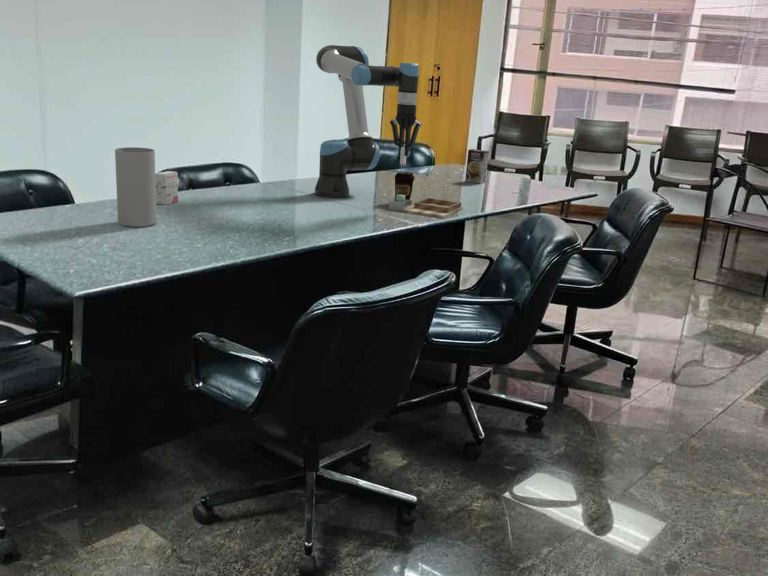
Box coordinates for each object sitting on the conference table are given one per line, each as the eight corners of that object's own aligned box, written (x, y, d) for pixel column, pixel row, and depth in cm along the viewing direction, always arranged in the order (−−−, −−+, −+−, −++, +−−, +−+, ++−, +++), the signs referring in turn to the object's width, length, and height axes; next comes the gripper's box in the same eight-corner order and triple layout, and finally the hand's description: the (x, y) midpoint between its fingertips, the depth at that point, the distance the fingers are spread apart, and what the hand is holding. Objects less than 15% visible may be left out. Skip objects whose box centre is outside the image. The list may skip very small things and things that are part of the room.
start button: (394, 204, 312) (395, 195, 311) (398, 202, 316) (398, 194, 314) (402, 205, 311) (403, 196, 310) (406, 203, 314) (406, 195, 313)
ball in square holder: (388, 209, 312) (389, 200, 311) (395, 206, 318) (396, 198, 317) (404, 211, 309) (404, 202, 308) (411, 208, 316) (411, 200, 314)
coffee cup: (410, 206, 321) (412, 175, 317) (391, 204, 322) (393, 173, 319) (414, 202, 329) (416, 172, 325) (395, 200, 331) (397, 170, 327)
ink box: (168, 200, 303) (167, 170, 299) (178, 201, 301) (178, 171, 298) (154, 203, 295) (153, 173, 291) (165, 205, 293) (164, 174, 290)
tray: (401, 211, 308) (402, 204, 307) (422, 203, 328) (423, 196, 327) (443, 218, 301) (444, 210, 300) (462, 209, 321) (463, 202, 320)
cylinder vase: (138, 218, 270) (136, 146, 263) (164, 223, 264) (162, 150, 257) (110, 223, 260) (106, 149, 252) (136, 229, 254) (133, 153, 247)
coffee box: (464, 181, 392) (467, 149, 387) (470, 180, 397) (473, 148, 393) (480, 183, 388) (484, 151, 383) (486, 182, 393) (489, 150, 388)
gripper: (387, 102, 301) (384, 163, 308) (418, 105, 296) (414, 166, 303) (395, 102, 307) (392, 161, 314) (426, 104, 302) (421, 164, 309)
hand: (403, 163), depth 308 cm, fingers closed
